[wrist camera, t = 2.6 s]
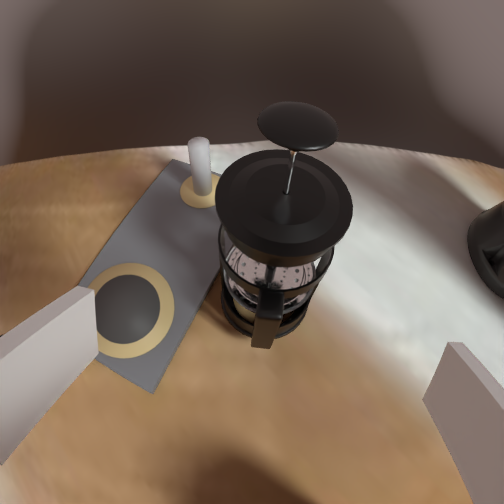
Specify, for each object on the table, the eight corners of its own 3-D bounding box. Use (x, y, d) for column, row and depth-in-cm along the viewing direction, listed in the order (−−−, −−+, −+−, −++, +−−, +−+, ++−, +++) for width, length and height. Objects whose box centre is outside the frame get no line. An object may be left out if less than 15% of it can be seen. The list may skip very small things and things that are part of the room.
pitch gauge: (263, 193, 42) (268, 142, 35) (153, 394, 29) (125, 381, 21) (173, 162, 45) (165, 114, 37) (54, 330, 31) (13, 300, 24)
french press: (229, 250, 38) (225, 64, 18) (309, 260, 38) (371, 85, 18) (212, 349, 32) (172, 203, 12) (304, 360, 32) (410, 234, 12)
